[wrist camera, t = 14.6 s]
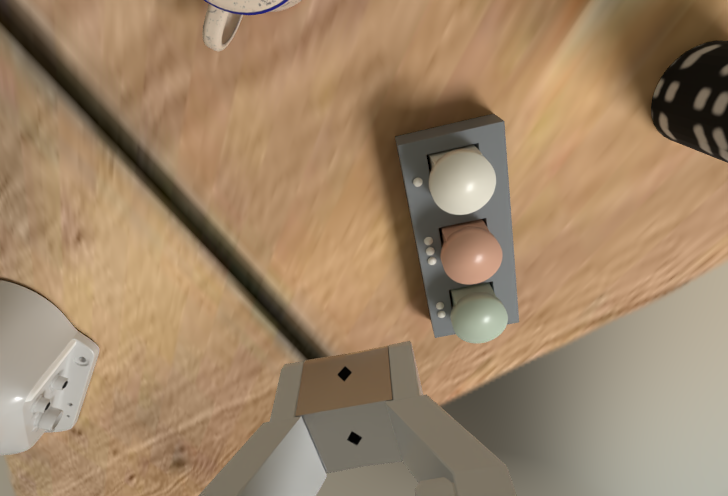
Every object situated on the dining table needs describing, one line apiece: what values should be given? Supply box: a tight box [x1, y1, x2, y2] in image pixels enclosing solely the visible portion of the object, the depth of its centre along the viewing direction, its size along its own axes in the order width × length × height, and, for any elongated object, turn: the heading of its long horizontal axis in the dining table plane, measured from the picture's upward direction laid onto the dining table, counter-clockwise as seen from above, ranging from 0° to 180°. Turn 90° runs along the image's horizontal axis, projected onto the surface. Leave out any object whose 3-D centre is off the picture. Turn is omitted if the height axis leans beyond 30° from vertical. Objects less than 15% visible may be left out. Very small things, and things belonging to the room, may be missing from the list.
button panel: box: [395, 114, 519, 338], centre depth 42 cm, size 21×9×3 cm, turn 13°
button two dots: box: [450, 282, 508, 343], centre depth 43 cm, size 5×5×5 cm
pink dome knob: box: [440, 219, 503, 284], centre depth 40 cm, size 5×5×5 cm
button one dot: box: [428, 144, 496, 215], centre depth 37 cm, size 5×5×5 cm
